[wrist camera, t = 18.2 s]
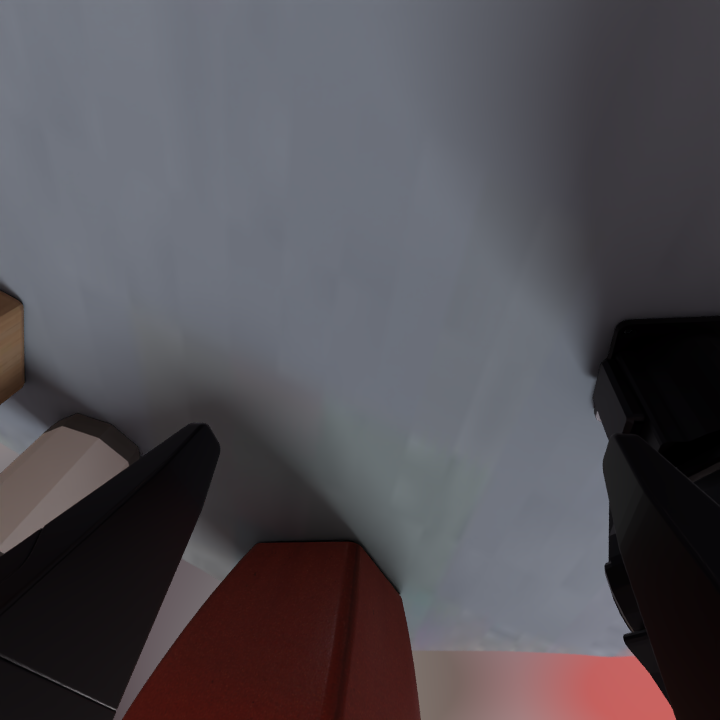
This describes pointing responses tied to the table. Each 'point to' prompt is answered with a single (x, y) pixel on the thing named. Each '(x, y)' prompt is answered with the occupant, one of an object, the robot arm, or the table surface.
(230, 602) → the plant pot
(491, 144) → the table surface
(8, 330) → the wooden block
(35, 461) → the wine bottle
